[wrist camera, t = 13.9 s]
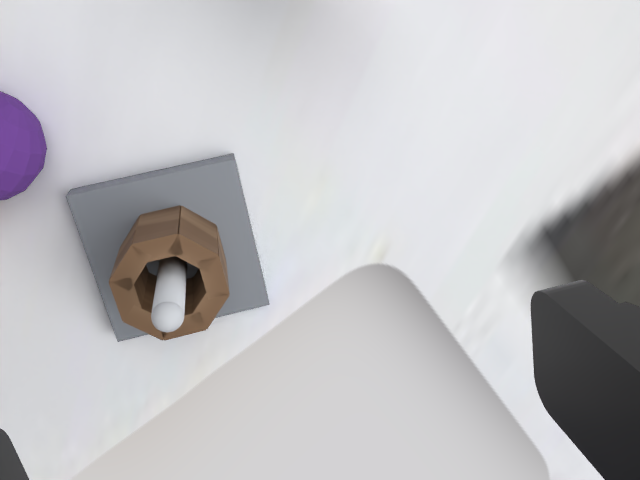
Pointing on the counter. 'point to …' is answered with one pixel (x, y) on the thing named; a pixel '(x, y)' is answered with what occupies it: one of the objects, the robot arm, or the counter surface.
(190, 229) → the bead
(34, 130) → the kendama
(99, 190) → the rod stand
